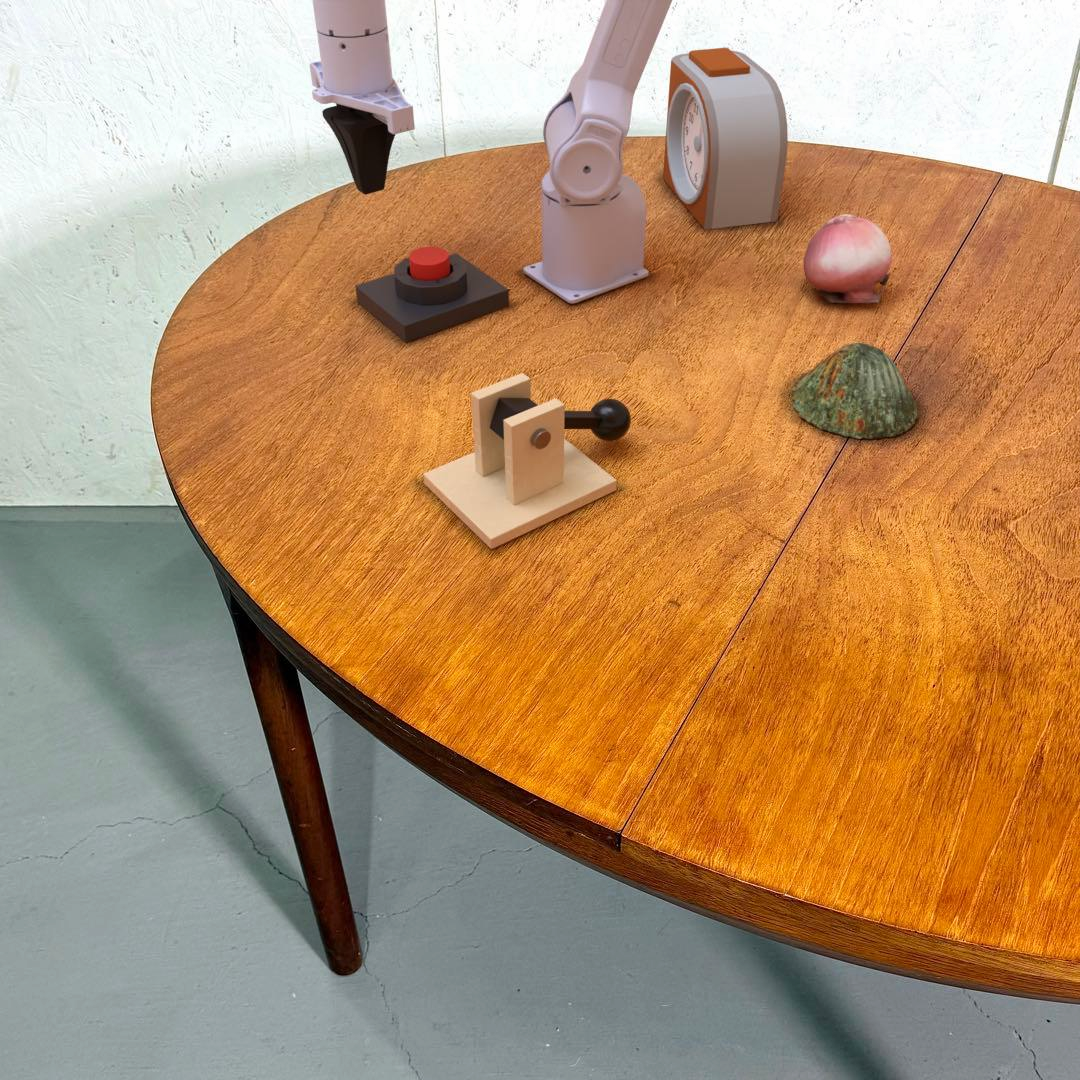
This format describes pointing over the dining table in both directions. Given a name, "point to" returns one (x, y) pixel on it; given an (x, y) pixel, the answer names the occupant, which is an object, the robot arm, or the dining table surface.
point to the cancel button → (429, 263)
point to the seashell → (856, 394)
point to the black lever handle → (572, 417)
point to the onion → (848, 260)
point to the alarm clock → (725, 138)
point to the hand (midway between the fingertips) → (371, 189)
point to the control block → (431, 298)
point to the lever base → (517, 469)
